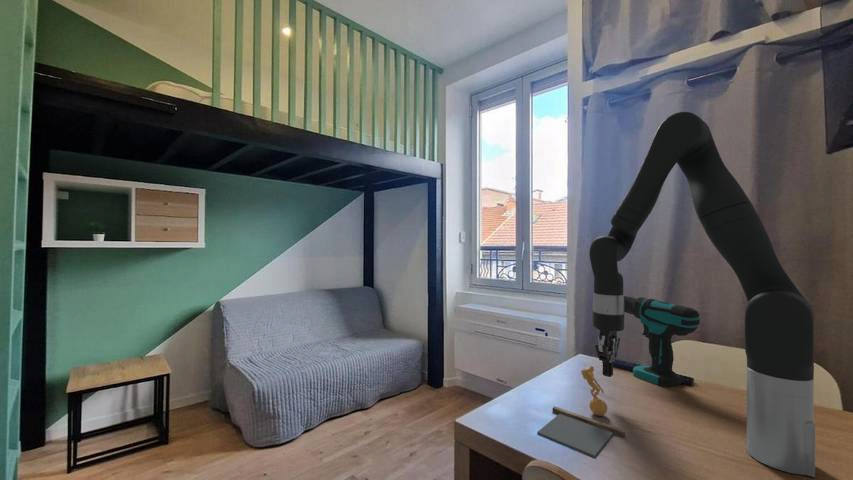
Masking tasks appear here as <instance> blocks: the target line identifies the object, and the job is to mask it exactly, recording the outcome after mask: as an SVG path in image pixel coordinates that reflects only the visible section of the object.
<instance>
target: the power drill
mask: <svg viewBox="0 0 853 480" xmlns="http://www.w3.org/2000/svg"><path fill="white" fill-rule="evenodd" d="M623 297H624V313H627V314H630V315H633V316H634V317H635V319H639V320H640V324H641V325H642V326H643V332H642V334H641V335H642V336H644V337H645V338H648V351H649V355H650V358H651V360H652V361H651V362H652V363H651V365H643V364H642V365H637V366H634V367H633V368H632V377H633V376H634V377H635V378H638V379H640V380H643V381H646V382H648V383H651V384H655V385H657V386H658V387H663V388H668V389H669V388H674V387H678V386H681V385H682V384H683V383H682V382H683V381H682V379H683V377H681V375H679V374H677V373H676V371H673V365H674V350H673V344H672V337H673V336H674V335H676V336H679V337H683V336H684V337H686V336H687V335H689V334H692V333H694V332H695V331H696V330H697V329H698V327H699V325H700V323H701V319H700V313H699V312H698V311H697V310H696V309H695V308H693V307H690V306H685V305H680V304H673V303H671V302H670V303H669V302H665V301H661V300H657V299H656V298H655V299H654V298H647V297H640V296H639V297H638V298H637V297H633V296H627V295H623Z"/></svg>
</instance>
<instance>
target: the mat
mask: <svg viewBox="0 0 853 480" xmlns="http://www.w3.org/2000/svg"><path fill="white" fill-rule="evenodd" d="M537 435H540V436H542V437H544V438H546V439H550V440H551V441H554V442H557V443H559V444H560V445H561V444H562V445H564V446H566V447H569V448H571V449H574V450H576V451H578V452H581V453H583V454H585V455H588V456H590V457H593V458H596V457H597V455H598V454H599V453H600V452H601V450H602V449H603V447H604V446H605V445H606V444H607V443H608V441H609V440H610V439H611V437H613V435H614V434H613V432H611V431H608V430H605V429H602V428H599V427H596V426H594V425H591V424H588V423H585V422H582V421H580V420H577V419H574V418H571V417H568V416H566V415H563V414H557V415H556V416H555V417H554V418H552V419H551V420H550V421H549V422H548V423H546V424H545V425H544V426H543V427H541V428H540V429H539V430H538V431H537Z"/></svg>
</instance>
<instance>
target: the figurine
mask: <svg viewBox="0 0 853 480" xmlns="http://www.w3.org/2000/svg"><path fill="white" fill-rule="evenodd" d="M594 371H595V368H594V366H592V365H591V366H589V367H587V368H583V369H582V370H581V371H580V373H581V375H582V378H583V380H584V381H585V380H586V381H587V384H588V386H590V387H591V389H590V395H591V396H592V397H593V398H592V399H590V402H589V409H590V411H591V412H592V414H593V415H595V416H598V417H602V416H605V415H606V414H607V413H608V410H609V409H608V405H607V403H606V401H605V400H603V399H602V398H599V397H598V394H599V393H600V391H601V393H602V394H604V393H605V392H604V389H602V387H601V385H600V384H599V383H598V380H596V377H595V375H594Z"/></svg>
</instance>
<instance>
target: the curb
mask: <svg viewBox="0 0 853 480" xmlns="http://www.w3.org/2000/svg"><path fill="white" fill-rule="evenodd" d="M552 413H555V414H557V415H559V414H563V415H566V416H568V417H571V418H574V419H577V420H580V421H582V422H585V423H588V424H591V425H594V426H596V427H599V428H602V429H605V430H608V431H611V432H613V435H616V436H619V437H622V438H624V437H625V436H626V430H624V429H622V428H619V427H617V426H613V425H610V424H608V423H606V422H601V421H599V420H596V419H593V418H590V417H587V416H584V415H581V414H579V413H576V412H572V411H569V410H567V409H564V408H561V407H558V406H555V405H554V406H553V407H552Z"/></svg>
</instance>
